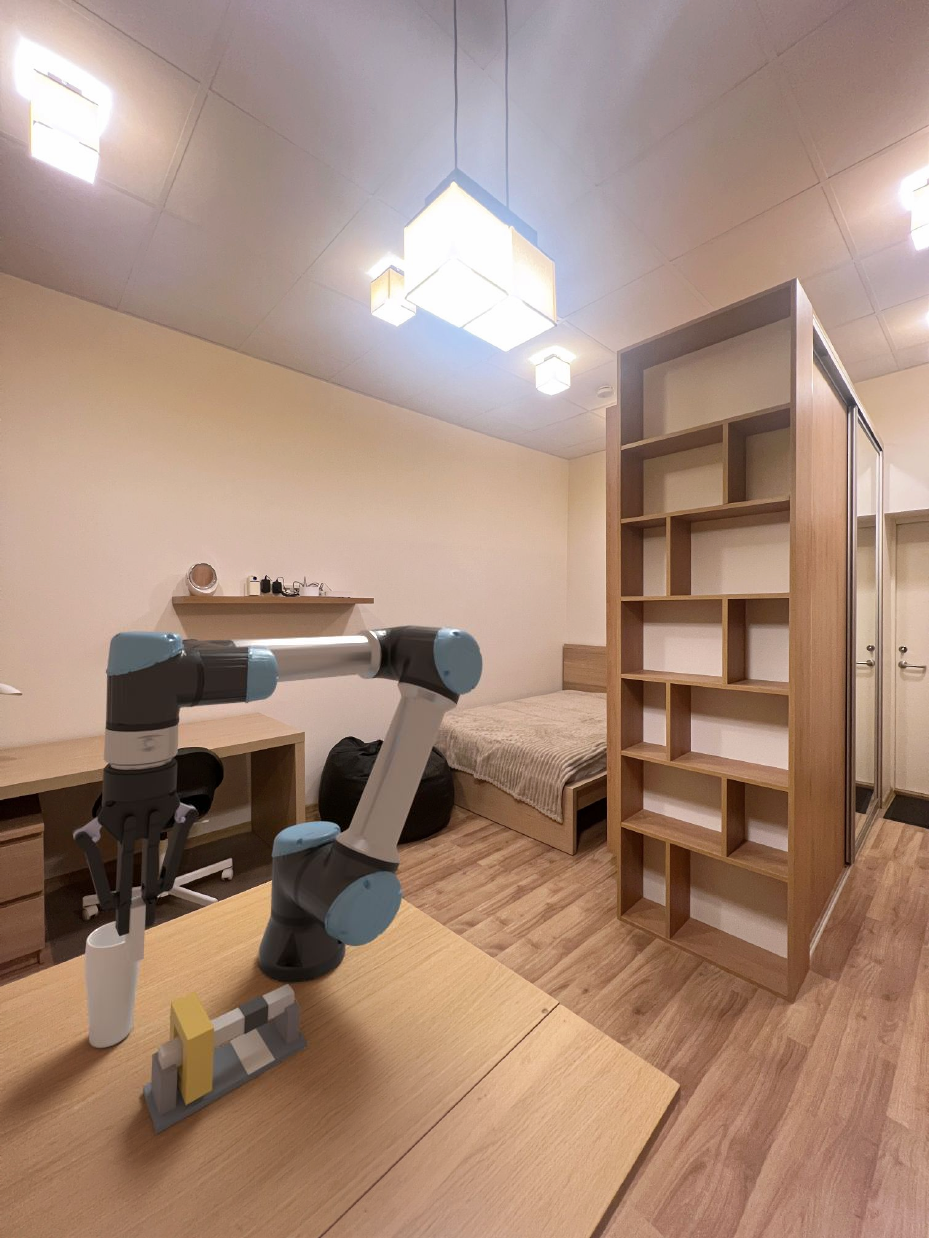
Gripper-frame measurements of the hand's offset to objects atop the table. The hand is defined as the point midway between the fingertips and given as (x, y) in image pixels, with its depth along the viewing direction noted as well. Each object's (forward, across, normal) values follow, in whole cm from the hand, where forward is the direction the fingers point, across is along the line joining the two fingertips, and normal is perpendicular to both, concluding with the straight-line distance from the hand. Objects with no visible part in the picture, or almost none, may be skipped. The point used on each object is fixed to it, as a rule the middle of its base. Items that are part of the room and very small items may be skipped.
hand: (133, 955), depth 62 cm
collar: (+19, +7, 0) cm, 20 cm away
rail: (+21, +12, 0) cm, 24 cm away
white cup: (+21, +1, +16) cm, 27 cm away
